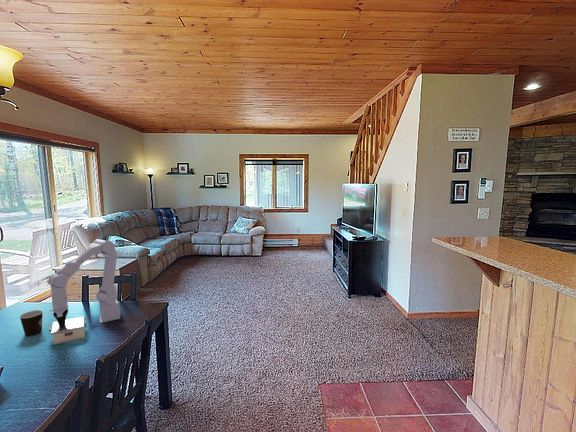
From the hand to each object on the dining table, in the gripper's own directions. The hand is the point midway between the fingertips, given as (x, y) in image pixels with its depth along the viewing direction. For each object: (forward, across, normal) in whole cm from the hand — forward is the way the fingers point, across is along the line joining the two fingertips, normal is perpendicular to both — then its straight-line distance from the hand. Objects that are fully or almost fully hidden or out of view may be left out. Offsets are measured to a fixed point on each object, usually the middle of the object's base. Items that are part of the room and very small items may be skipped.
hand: (62, 325), depth 146 cm
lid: (+1, 0, +2) cm, 2 cm away
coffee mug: (+6, -14, -11) cm, 19 cm away
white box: (+6, 0, +3) cm, 7 cm away
